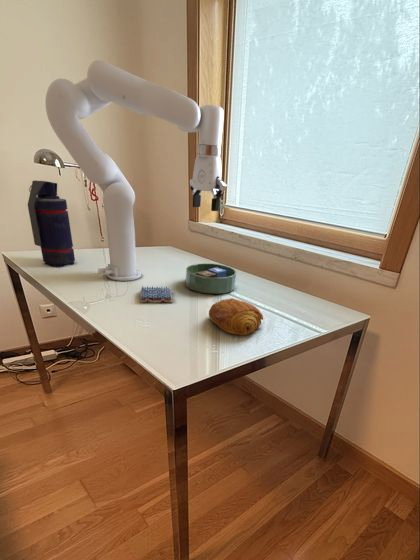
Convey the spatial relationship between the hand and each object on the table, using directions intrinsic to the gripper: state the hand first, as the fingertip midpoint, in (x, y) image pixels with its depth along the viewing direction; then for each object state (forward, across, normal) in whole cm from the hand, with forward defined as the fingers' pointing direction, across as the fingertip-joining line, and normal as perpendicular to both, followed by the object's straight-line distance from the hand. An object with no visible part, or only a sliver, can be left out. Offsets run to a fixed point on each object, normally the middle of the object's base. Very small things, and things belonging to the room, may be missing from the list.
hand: (205, 208), depth 113 cm
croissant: (+25, +37, -20) cm, 49 cm away
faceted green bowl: (+25, +9, -3) cm, 27 cm away
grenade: (+26, -46, -38) cm, 65 cm away
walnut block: (+25, +10, -6) cm, 27 cm away
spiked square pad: (+26, +7, -26) cm, 38 cm away
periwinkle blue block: (+25, +8, 0) cm, 26 cm away
